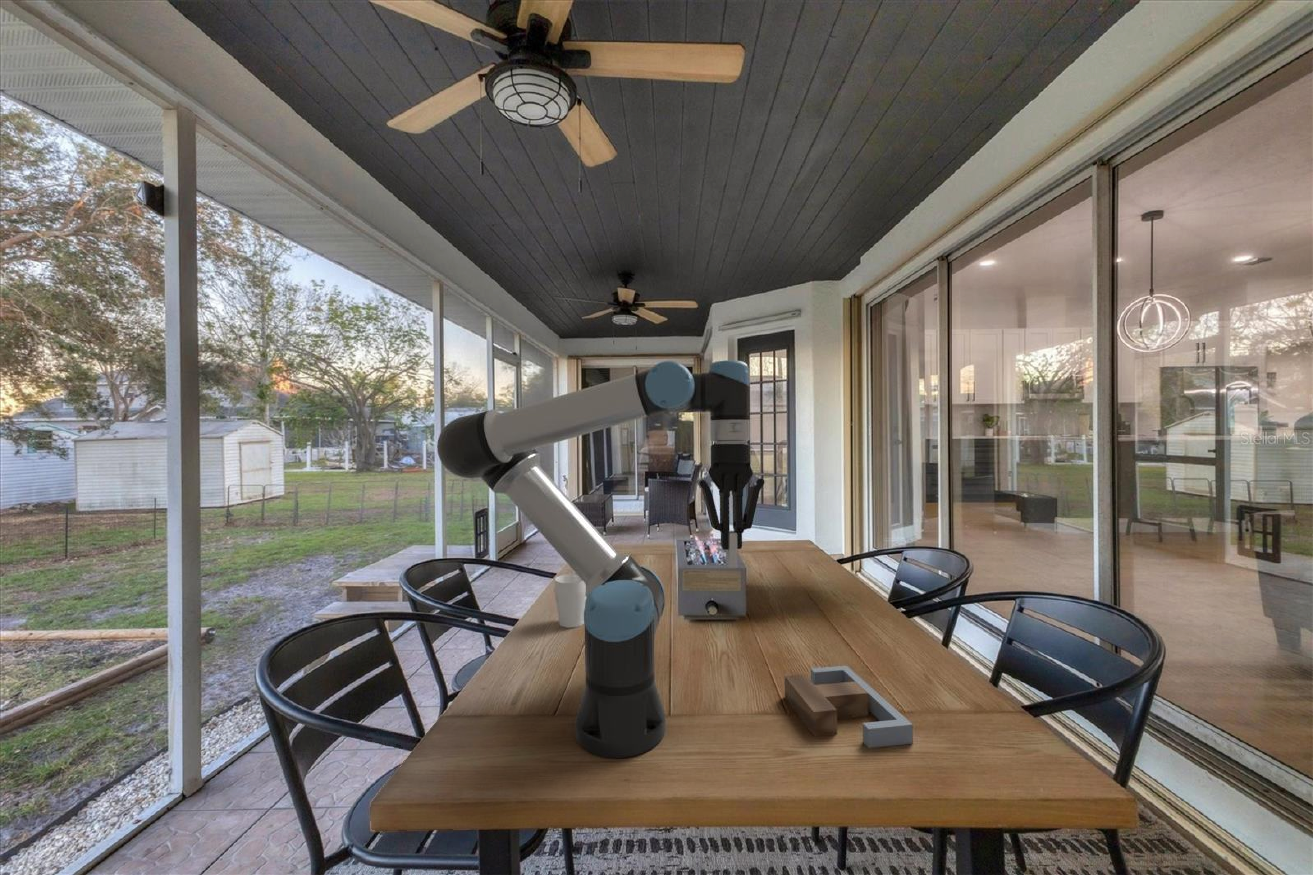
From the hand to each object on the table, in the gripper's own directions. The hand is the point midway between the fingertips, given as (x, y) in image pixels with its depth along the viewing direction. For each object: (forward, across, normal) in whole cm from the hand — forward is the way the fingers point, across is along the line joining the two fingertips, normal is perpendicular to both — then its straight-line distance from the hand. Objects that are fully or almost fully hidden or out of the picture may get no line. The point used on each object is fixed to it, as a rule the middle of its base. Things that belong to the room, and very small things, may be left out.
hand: (731, 565), depth 92 cm
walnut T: (+25, +15, -9) cm, 30 cm away
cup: (+25, -32, +40) cm, 57 cm away
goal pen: (+24, +20, -9) cm, 33 cm away
